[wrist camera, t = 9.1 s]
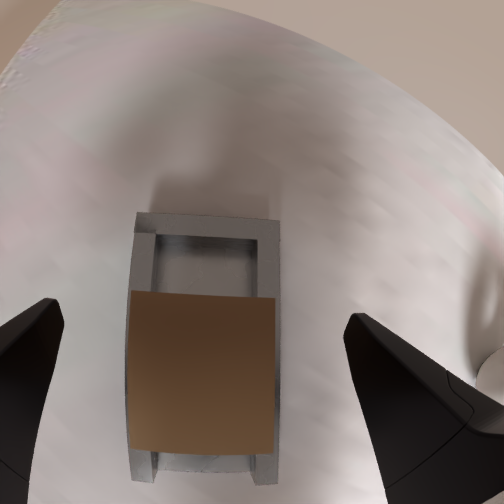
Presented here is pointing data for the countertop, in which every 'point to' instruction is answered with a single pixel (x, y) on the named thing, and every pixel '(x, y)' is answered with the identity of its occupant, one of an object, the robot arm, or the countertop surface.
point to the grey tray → (206, 283)
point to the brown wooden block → (201, 373)
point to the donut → (492, 376)
